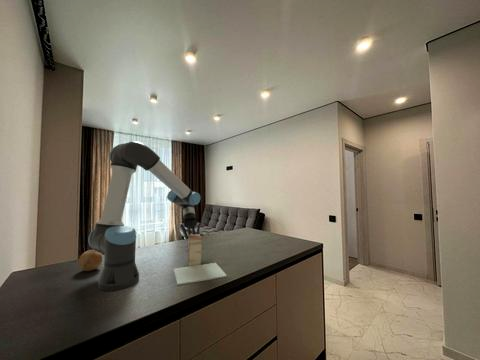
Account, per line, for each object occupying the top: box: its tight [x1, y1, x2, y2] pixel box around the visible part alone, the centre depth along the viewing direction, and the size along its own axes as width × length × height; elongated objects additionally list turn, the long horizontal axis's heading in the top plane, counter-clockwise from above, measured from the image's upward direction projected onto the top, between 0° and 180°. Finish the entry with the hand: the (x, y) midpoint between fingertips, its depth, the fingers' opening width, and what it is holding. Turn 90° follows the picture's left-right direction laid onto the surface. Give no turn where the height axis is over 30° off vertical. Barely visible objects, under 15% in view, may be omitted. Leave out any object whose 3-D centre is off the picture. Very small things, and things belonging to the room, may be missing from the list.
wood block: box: [187, 233, 203, 267], centre depth 110 cm, size 6×6×15 cm
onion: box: [77, 249, 103, 272], centre depth 102 cm, size 10×10×10 cm
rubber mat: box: [173, 262, 228, 286], centre depth 98 cm, size 18×22×1 cm
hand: (193, 249), depth 114 cm, fingers closed
